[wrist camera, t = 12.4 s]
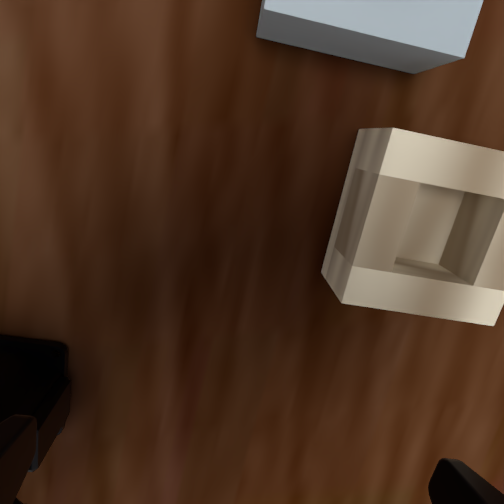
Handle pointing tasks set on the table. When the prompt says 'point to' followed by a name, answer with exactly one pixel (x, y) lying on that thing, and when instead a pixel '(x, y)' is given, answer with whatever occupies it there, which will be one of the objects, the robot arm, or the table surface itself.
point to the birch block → (420, 228)
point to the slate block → (375, 29)
